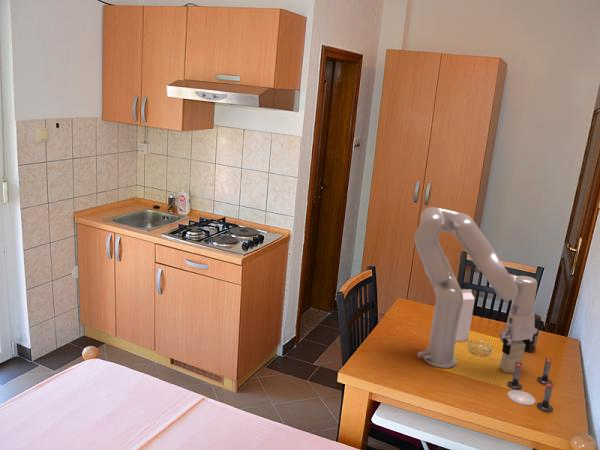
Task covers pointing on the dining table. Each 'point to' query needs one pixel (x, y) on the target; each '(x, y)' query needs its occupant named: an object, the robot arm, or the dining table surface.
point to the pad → (521, 397)
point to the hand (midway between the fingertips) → (515, 351)
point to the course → (543, 380)
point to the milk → (465, 316)
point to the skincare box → (513, 356)
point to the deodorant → (537, 325)
